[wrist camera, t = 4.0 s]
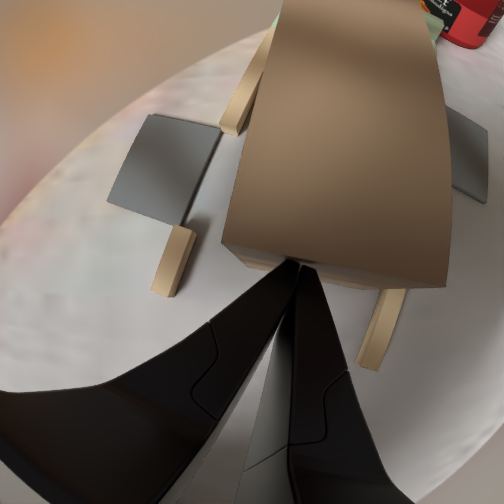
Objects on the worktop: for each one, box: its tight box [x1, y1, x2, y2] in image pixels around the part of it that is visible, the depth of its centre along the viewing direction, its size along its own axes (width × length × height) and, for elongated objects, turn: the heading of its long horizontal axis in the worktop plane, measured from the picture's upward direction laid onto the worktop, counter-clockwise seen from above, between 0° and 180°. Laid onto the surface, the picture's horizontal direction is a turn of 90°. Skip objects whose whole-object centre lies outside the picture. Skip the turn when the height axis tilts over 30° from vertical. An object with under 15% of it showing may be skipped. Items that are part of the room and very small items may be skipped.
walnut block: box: [221, 0, 452, 290], centre depth 12 cm, size 14×6×8 cm, turn 168°
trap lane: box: [107, 10, 488, 371], centre depth 14 cm, size 25×22×3 cm
